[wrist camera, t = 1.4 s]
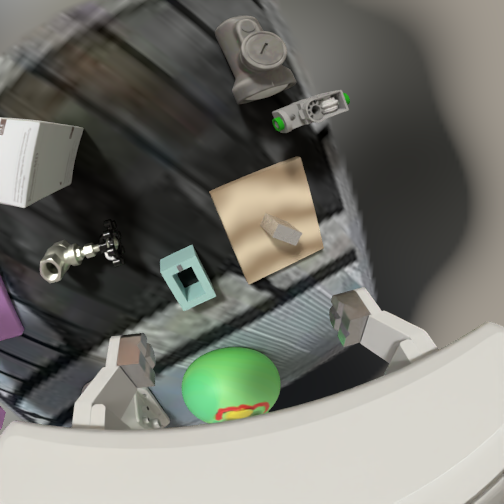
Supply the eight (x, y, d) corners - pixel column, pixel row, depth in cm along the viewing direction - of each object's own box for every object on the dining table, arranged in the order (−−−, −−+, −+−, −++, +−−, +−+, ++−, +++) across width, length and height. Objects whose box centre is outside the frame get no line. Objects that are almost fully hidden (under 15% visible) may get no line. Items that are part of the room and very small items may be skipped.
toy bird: (270, 326, 52) (303, 381, 40) (260, 382, 59) (284, 433, 46) (174, 336, 47) (185, 402, 34) (181, 393, 53) (193, 451, 41)
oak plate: (319, 244, 48) (323, 248, 47) (246, 280, 46) (248, 284, 45) (296, 156, 40) (300, 157, 39) (209, 191, 39) (210, 193, 37)
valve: (60, 273, 36) (127, 253, 39) (48, 295, 30) (122, 275, 33) (45, 234, 33) (114, 212, 36) (29, 252, 27) (106, 227, 30)
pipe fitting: (286, 94, 36) (314, 78, 26) (234, 110, 35) (247, 96, 26) (257, 26, 31) (275, -5, 22) (205, 40, 31) (208, 8, 21)
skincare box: (71, 184, 32) (27, 214, 19) (36, 177, 30) (-17, 205, 17) (85, 124, 29) (42, 121, 17) (48, 119, 27) (-6, 117, 14)
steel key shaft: (287, 221, 43) (302, 233, 38) (281, 233, 43) (296, 245, 39) (265, 212, 41) (278, 223, 37) (259, 225, 42) (272, 237, 37)
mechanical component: (247, 116, 36) (274, 112, 27) (307, 93, 37) (346, 87, 28) (255, 135, 37) (284, 137, 29) (314, 110, 38) (354, 109, 30)
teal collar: (211, 283, 45) (216, 297, 41) (181, 296, 44) (184, 312, 40) (192, 244, 41) (195, 256, 37) (160, 259, 41) (160, 273, 37)
